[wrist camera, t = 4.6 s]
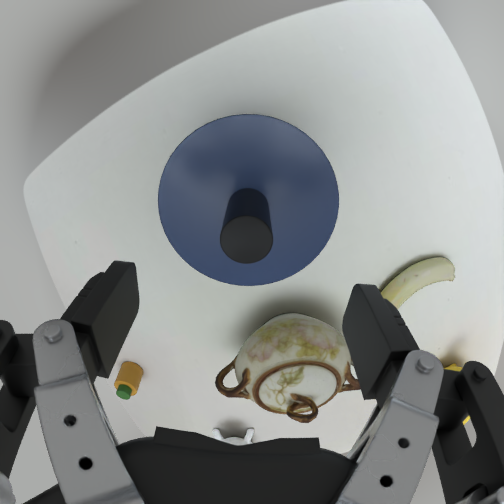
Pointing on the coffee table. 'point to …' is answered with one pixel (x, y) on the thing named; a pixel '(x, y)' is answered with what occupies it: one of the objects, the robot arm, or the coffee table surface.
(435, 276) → the fruit
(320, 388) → the sugar bowl
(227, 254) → the lid
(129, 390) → the yellow and green cylinder
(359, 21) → the coffee table surface
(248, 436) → the white animal figurine
